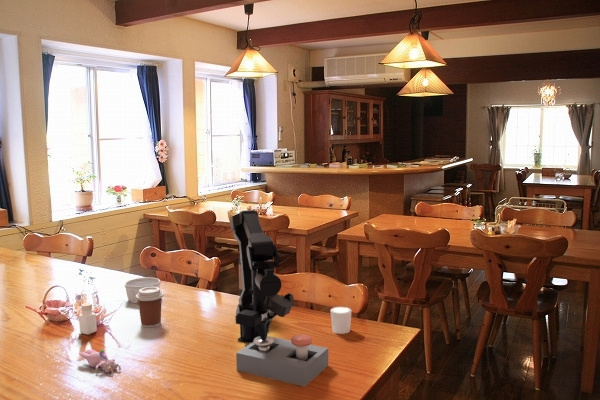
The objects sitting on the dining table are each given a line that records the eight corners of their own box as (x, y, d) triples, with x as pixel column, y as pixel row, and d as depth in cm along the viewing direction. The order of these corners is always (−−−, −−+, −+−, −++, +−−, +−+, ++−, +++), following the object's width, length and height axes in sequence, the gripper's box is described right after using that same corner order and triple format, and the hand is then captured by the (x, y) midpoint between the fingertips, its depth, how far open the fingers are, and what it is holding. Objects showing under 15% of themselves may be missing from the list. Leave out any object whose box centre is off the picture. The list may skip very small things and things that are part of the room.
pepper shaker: (79, 333, 178) (77, 305, 177) (89, 329, 181) (87, 301, 180) (87, 335, 176) (85, 307, 175) (97, 331, 179) (95, 303, 178)
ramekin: (146, 291, 222) (145, 275, 221) (168, 297, 214) (167, 280, 213) (118, 300, 211) (117, 283, 210) (140, 307, 203) (139, 288, 202)
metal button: (250, 360, 152) (249, 341, 151) (261, 352, 157) (260, 334, 156) (267, 364, 149) (267, 344, 149) (278, 356, 154) (277, 337, 154)
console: (236, 370, 149) (236, 352, 149) (264, 351, 162) (263, 335, 161) (304, 386, 139) (304, 368, 139) (328, 365, 152) (328, 348, 151)
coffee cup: (144, 331, 179) (142, 295, 177) (132, 323, 186) (130, 289, 184) (169, 324, 185) (168, 289, 183) (157, 317, 192) (155, 284, 190)
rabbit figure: (125, 373, 152) (90, 353, 159) (126, 354, 151) (91, 335, 158) (106, 382, 147) (71, 361, 154) (107, 362, 145) (72, 342, 153)
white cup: (350, 335, 173) (350, 314, 172) (328, 333, 174) (328, 312, 173) (352, 327, 180) (352, 306, 179) (332, 326, 181) (331, 305, 180)
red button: (287, 360, 146) (287, 340, 145) (297, 352, 151) (297, 333, 150) (306, 364, 143) (305, 344, 143) (315, 356, 148) (315, 336, 147)
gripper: (269, 299, 138) (270, 357, 141) (304, 280, 155) (305, 333, 157) (233, 293, 144) (235, 349, 146) (270, 275, 160) (271, 326, 162)
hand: (263, 339), depth 152 cm, fingers closed, pressing on metal button
